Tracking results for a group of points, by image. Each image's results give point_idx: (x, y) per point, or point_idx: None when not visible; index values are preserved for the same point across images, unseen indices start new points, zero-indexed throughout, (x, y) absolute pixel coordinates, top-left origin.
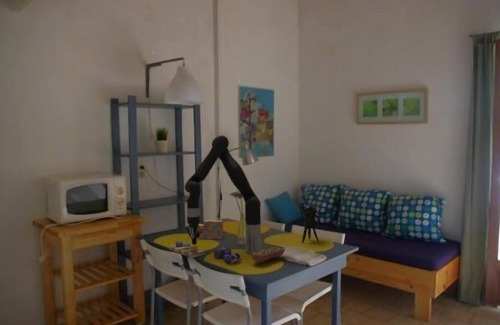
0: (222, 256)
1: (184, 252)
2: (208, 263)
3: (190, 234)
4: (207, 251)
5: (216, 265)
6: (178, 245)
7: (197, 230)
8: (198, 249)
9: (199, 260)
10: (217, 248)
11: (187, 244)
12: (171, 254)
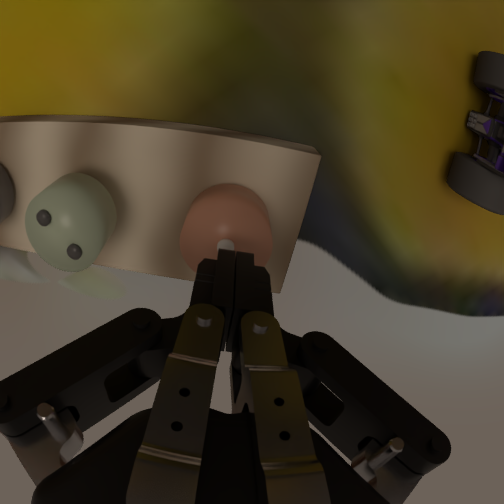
0: (487, 140)
1: (164, 273)
2: (446, 287)
3: (148, 381)
4: (257, 38)
5: (491, 284)
6: (3, 219)
7: (373, 482)
8: (207, 136)
9: (369, 280)
10: (500, 175)
11: (104, 244)
12: (84, 292)
